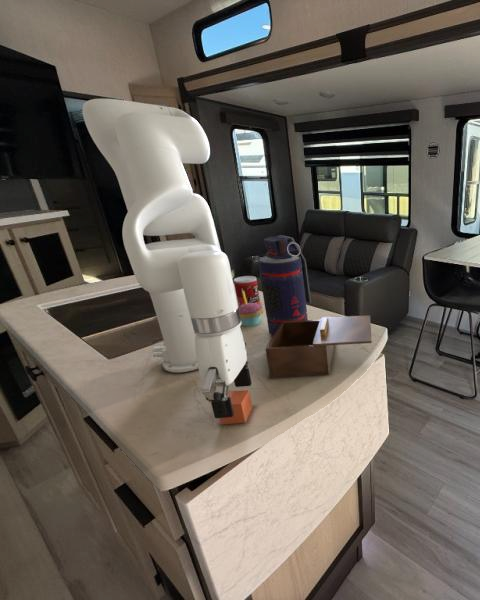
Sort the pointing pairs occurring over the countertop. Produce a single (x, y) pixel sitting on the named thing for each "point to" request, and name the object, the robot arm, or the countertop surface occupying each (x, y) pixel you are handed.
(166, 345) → the robot arm
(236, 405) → the block
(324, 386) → the countertop surface
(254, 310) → the cupcake
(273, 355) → the storage box
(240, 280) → the canned food
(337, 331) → the sliding door
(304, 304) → the grenade
